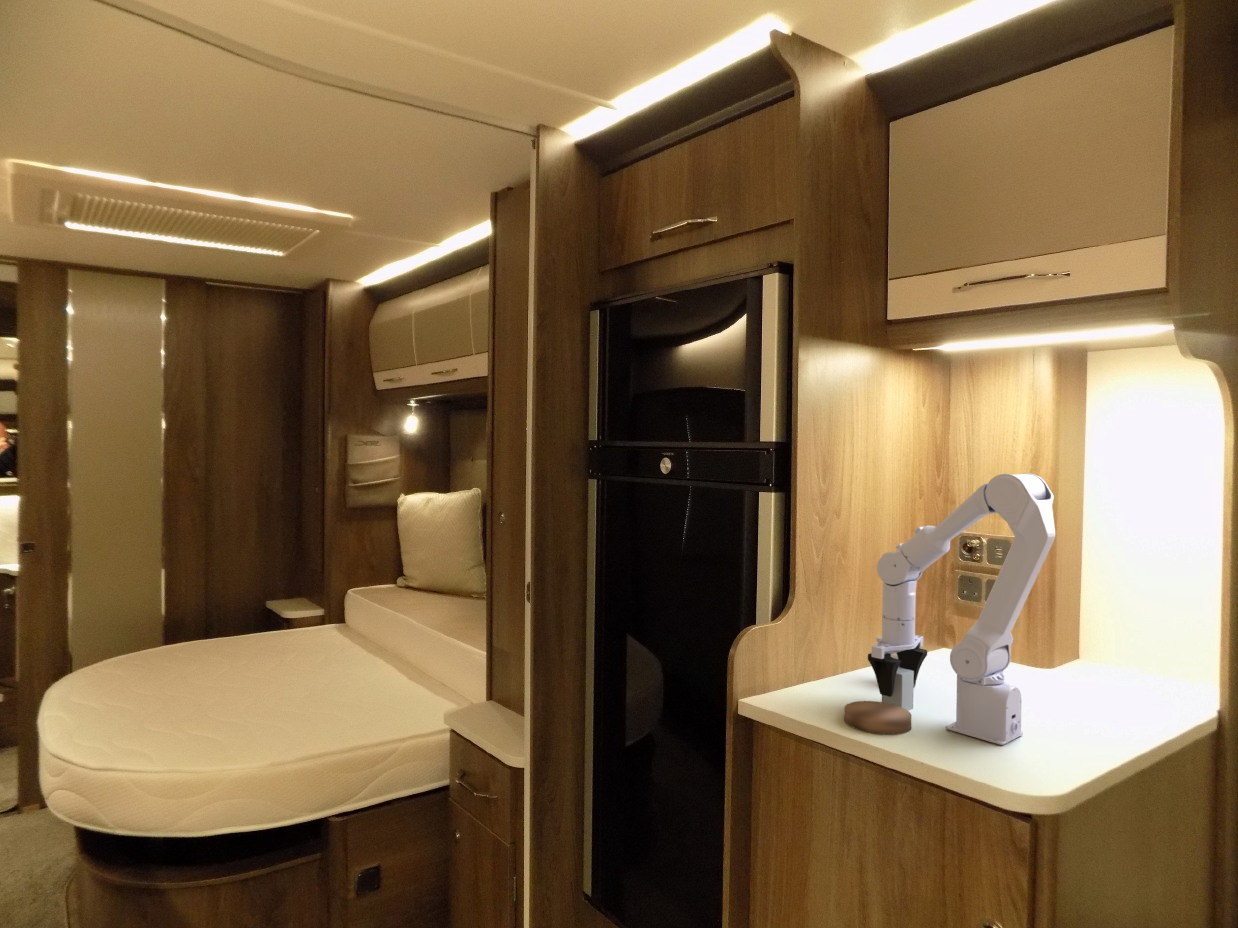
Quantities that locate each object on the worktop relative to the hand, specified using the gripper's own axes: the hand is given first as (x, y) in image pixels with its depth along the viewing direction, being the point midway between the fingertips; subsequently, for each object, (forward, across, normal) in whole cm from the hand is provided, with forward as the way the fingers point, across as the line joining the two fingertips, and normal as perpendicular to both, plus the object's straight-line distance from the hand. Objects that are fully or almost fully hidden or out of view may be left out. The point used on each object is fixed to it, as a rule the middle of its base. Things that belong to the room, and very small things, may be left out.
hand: (897, 690), depth 139 cm
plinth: (+3, +10, +2) cm, 11 cm away
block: (+3, 0, 0) cm, 3 cm away
